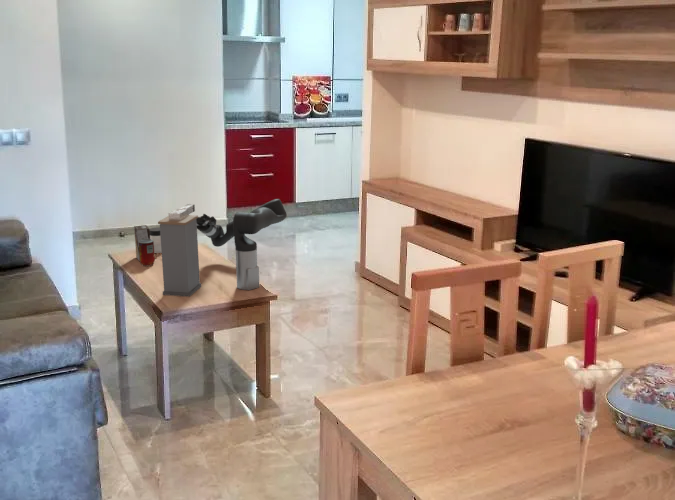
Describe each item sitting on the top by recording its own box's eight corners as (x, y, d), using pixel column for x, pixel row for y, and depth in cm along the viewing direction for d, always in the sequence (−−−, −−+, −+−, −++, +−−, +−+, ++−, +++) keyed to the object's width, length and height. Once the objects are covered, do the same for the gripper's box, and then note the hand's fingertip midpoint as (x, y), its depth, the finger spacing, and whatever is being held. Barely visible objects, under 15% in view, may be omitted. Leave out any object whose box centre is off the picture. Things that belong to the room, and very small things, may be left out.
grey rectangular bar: (180, 220, 299) (179, 213, 298) (168, 220, 300) (168, 213, 299) (196, 211, 317) (196, 204, 316) (186, 210, 318) (185, 204, 317)
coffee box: (152, 260, 357) (149, 228, 353) (139, 261, 355) (136, 230, 350) (148, 255, 365) (146, 224, 361) (135, 257, 363) (133, 226, 358)
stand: (189, 296, 304) (185, 222, 296) (162, 294, 306) (157, 221, 298) (201, 286, 318) (197, 215, 309) (175, 284, 320) (171, 214, 311)
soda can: (158, 263, 352) (156, 239, 348) (147, 267, 346) (145, 242, 343) (147, 261, 355) (145, 237, 352) (137, 265, 349) (135, 240, 346)
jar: (148, 254, 368) (146, 231, 365) (150, 250, 376) (148, 227, 372) (166, 253, 369) (164, 230, 366) (167, 249, 377) (166, 227, 374)
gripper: (219, 234, 336) (208, 224, 321) (191, 232, 339) (178, 222, 323) (222, 219, 338) (210, 208, 323) (193, 217, 341) (180, 206, 325)
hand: (194, 215), depth 323 cm, fingers open, 8 cm apart
